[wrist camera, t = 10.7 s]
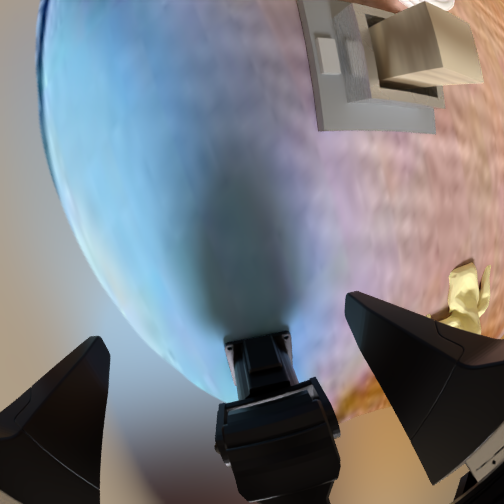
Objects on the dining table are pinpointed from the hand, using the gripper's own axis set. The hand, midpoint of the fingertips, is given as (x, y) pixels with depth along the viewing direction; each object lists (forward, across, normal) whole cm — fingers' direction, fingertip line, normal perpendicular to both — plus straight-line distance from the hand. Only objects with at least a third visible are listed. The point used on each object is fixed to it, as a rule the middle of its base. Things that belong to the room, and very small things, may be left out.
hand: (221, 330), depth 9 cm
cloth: (+14, -33, +18) cm, 40 cm away
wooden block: (+12, -15, -12) cm, 23 cm away
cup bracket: (+12, -15, -12) cm, 23 cm away
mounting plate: (+13, -15, -12) cm, 23 cm away
